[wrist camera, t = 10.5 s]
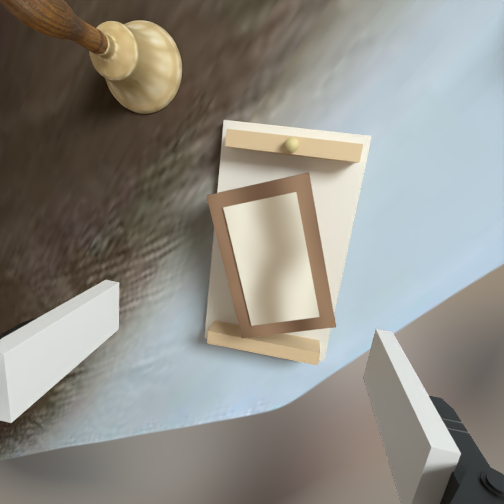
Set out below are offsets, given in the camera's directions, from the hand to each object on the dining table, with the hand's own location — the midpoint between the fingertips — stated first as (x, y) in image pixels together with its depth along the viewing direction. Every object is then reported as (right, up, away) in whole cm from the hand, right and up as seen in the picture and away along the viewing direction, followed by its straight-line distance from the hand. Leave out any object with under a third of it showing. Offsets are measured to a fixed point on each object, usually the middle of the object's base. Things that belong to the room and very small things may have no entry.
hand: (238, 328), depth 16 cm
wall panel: (+4, +4, +18) cm, 19 cm away
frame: (+3, +4, +17) cm, 18 cm away
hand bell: (-10, +22, +16) cm, 29 cm away
